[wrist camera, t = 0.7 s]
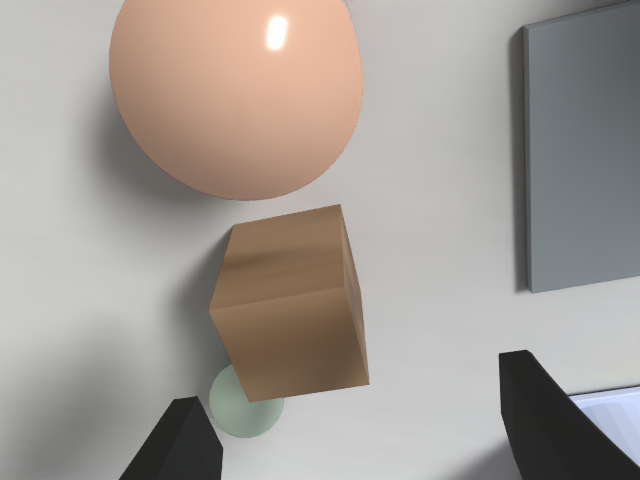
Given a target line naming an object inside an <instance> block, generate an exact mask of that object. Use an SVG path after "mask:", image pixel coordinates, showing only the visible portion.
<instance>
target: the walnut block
mask: <svg viewBox="0 0 640 480" xmlns="http://www.w3.org/2000/svg"><path fill="white" fill-rule="evenodd" d="M208 312H209V314H210V316H211V318H212V321H213V323H214V325H215V327H216V330H217V332H218V334H219V336H220V338H221V341H222V343H223V345H224V347H225V350H226V352H227V354H228V356H229V359H230V361H231V363H232V365H233V368H234V370H235V372H236V374H237V377H238V379H239V381H240V383H241V386H242V388H243V390H244V392H245V395H246V397H247V399H248V401H249V403H251V402H257V401H264V400H271V399H277V398H284V397H290V396H297V395H304V394H310V393H317V392H324V391H330V390H337V389H344V388H350V387H357V386H364V385H369V374H368V364H367V353H366V343H365V332H364V322H363V311H362V301H361V290H360V286H359V282H358V278H357V273H356V269H355V265H354V261H353V256H352V252H351V248H350V244H349V239H348V235H347V231H346V227H345V222H344V218H343V214H342V210H341V205H340V204H338V205H333V206H328V207H323V208H318V209H313V210H308V211H303V212H298V213H293V214H287V215H282V216H277V217H272V218H267V219H262V220H257V221H252V222H247V223H242V224H237V225H234V226H233V229H232V232H231V236H230V239H229V242H228V246H227V249H226V253H225V256H224V259H223V263H222V266H221V269H220V273H219V276H218V279H217V283H216V286H215V289H214V293H213V296H212V299H211V303H210V306H209V309H208Z"/></svg>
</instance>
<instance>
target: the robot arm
mask: <svg viewBox="0 0 640 480" xmlns="http://www.w3.org/2000/svg"><path fill="white" fill-rule="evenodd" d="M499 374H500V400H501V415H502V418H503V421H504V425H505V428H506V432H507V435H508V439H509V442H510V445H511V448H512V452H513V455H514V458H515V460H516V463H517V465H518V468H519V470H520V473H521V475H522V478H523V480H640V387H633V388H626V389H619V390H612V391H605V392H597V393H590V394H583V395H576V396H569V397H568V396H567V394H566V393H565V392H564V391H563V390H562V389H561V388H560V387H559V386H558V384H557V383H556V382H555V381H554V380H553V379H552V378H551V376H550V375H549V374H548V373H547V372H546V370H545V369H544V368H543V367H542V366H541V364H540V363H539V362H538V361H537V359H536V358H535V357H534V356H533V354H532V353H531V352H529V351H528V350H520V351H513V352H506V353H499ZM222 458H223V447H222V445H221V443H220V441H219V439H218V437H217V435H216V433H215V431H214V429H213V427H212V425H211V423H210V421H209V419H208V417H207V415H206V413H205V411H204V409H203V407H202V405H201V403H200V401H199V399H198V397H197V396H195V397H188V398H181V399H174V400H173V401H172V403H171V404H170V406H169V407H168V409H167V410H166V411H165V413H164V414H163V416H162V417H161V419H160V420H159V422H158V423H157V425H156V426H155V428H154V429H153V431H152V432H151V434H150V435H149V437H148V438H147V440H146V441H145V443H144V444H143V445H142V447H141V448H140V450H139V451H138V453H137V454H136V456H135V457H134V459H133V460H132V461H131V463H130V464H129V466H128V467H127V469H126V470H125V471H124V473H123V474H122V476H121V477H120V479H119V480H221V472H222Z"/></svg>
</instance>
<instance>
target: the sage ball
mask: <svg viewBox="0 0 640 480" xmlns="http://www.w3.org/2000/svg"><path fill="white" fill-rule="evenodd" d="M283 403H284V398H277V399H271V400H264V401H257V402H251V403H249V401H248V399H247V397H246V395H245V392H244V390H243V388H242V386H241V383H240V381H239V379H238V377H237V374H236V372H235V370H234V368H233V365H232V364H231V365H229V366H227V367H226V368H225V369H223V370H222V371H221V372H220V373H219V374H218V376H217V377H216V379H215V380H214V382H213V384H212V387H211V390H210V395H209V407H210V412H211V414H212V417H213V419H214V421H215V422H216V424H217V425H218V426H219V427H220V428H221V429H222V430H223V431H225V432H226V433H228V434H230V435H232V436H235V437H239V438H250V437H255V436H258V435H260V434H262V433H264V432H266V431H267V430H269V429H270V428H271V427H272V426H273V425H274V423H275V422H276V421H277V420H278V418H279V416H280V414H281V411H282V408H283Z"/></svg>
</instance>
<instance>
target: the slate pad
mask: <svg viewBox="0 0 640 480" xmlns="http://www.w3.org/2000/svg"><path fill="white" fill-rule="evenodd" d="M523 62H524V122H525V181H526V240H527V286H528V287H529V289H530V291H531V293H532V294H533V293H539V292H545V291H551V290H557V289H563V288H569V287H575V286H581V285H587V284H593V283H599V282H605V281H611V280H617V279H623V278H629V277H635V276H640V0H632V1H628V2H623V3H619V4H615V5H610V6H606V7H602V8H597V9H593V10H589V11H585V12H580V13H576V14H572V15H567V16H563V17H559V18H554V19H550V20H546V21H541V22H537V23H533V24H528V25H524V26H523Z"/></svg>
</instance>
